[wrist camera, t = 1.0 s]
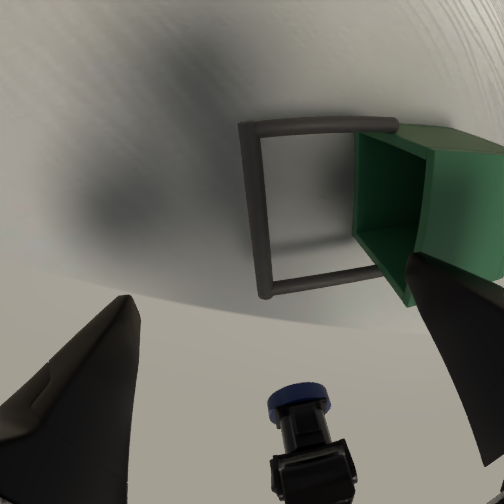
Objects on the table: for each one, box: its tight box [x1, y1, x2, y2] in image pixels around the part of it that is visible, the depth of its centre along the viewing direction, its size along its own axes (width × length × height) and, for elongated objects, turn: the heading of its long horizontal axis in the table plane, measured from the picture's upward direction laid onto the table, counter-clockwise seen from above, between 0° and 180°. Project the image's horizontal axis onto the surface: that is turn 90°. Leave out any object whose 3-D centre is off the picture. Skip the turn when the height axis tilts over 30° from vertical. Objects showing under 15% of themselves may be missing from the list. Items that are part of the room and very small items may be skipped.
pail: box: [238, 116, 504, 308], centre depth 13 cm, size 14×8×7 cm, turn 96°
